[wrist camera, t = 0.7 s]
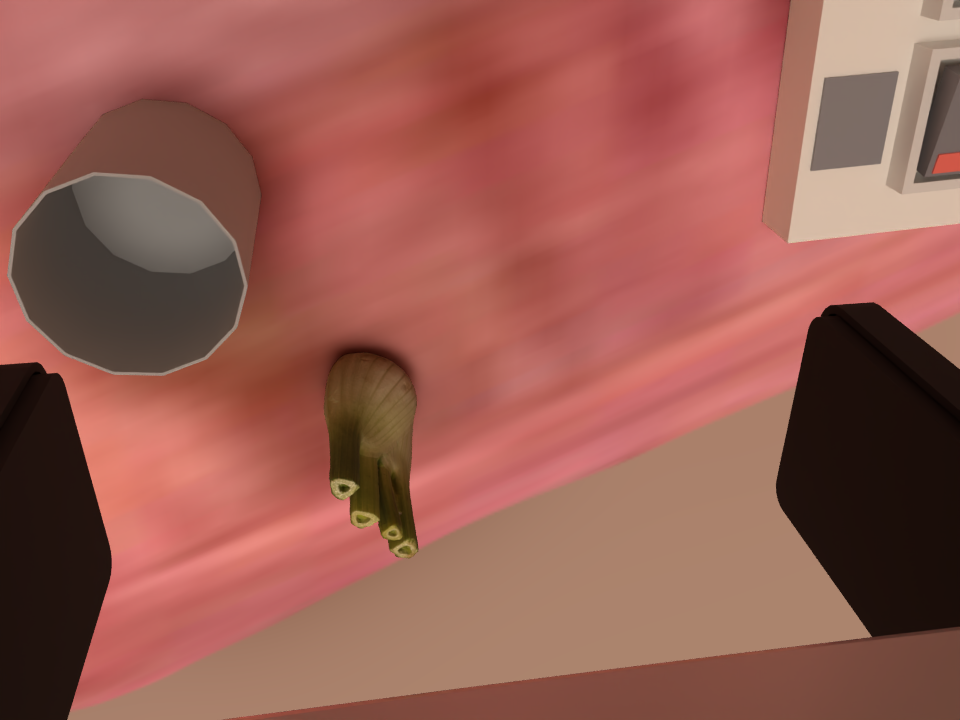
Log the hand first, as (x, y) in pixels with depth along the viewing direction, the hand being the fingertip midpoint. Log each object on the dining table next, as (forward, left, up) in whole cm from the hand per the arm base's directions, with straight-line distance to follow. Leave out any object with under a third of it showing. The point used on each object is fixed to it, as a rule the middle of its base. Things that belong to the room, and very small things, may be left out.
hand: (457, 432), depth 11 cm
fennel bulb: (+19, -2, -32) cm, 38 cm away
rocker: (+6, +28, -28) cm, 40 cm away
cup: (+7, -10, -32) cm, 34 cm away
